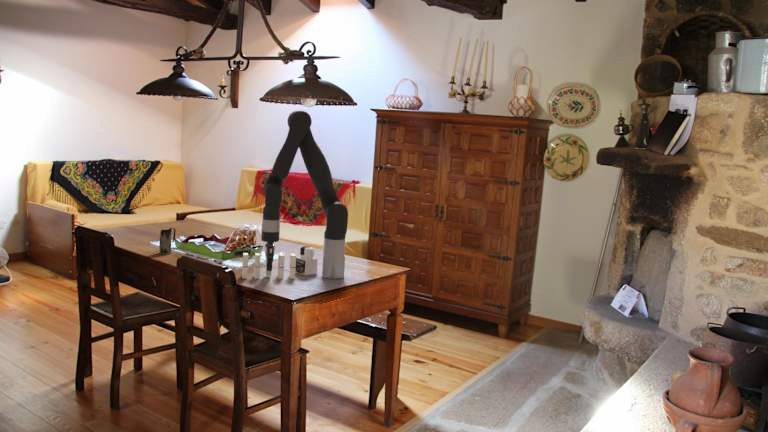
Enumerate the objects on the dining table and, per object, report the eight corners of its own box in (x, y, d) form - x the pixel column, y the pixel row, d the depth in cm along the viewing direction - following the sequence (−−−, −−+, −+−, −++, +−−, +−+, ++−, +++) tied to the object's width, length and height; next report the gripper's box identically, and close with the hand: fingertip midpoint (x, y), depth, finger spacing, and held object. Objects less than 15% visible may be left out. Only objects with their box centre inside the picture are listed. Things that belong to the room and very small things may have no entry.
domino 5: (293, 276, 280) (294, 253, 279) (295, 278, 275) (296, 256, 274) (289, 276, 279) (290, 253, 278) (290, 278, 275) (291, 255, 273)
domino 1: (247, 275, 275) (248, 252, 274) (247, 278, 270) (248, 255, 269) (242, 275, 274) (243, 252, 273) (242, 278, 270) (243, 255, 268)
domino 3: (270, 273, 277) (271, 250, 276) (271, 276, 272) (272, 252, 271) (265, 273, 277) (266, 250, 275) (266, 275, 272) (267, 252, 271)
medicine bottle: (294, 272, 287) (296, 246, 285) (307, 270, 292) (308, 245, 290) (304, 275, 282) (305, 249, 280) (317, 274, 287) (318, 247, 285)
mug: (164, 254, 305) (164, 229, 303) (156, 253, 308) (157, 228, 306) (177, 252, 312) (178, 228, 310) (170, 251, 314) (171, 226, 313)
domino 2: (258, 275, 276) (259, 253, 275) (259, 278, 271) (260, 255, 270) (254, 275, 276) (255, 252, 274) (254, 278, 271) (255, 255, 270)
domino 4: (282, 276, 279) (283, 253, 277) (283, 278, 274) (284, 255, 273) (277, 275, 278) (278, 253, 277) (278, 278, 273) (279, 255, 272)
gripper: (281, 233, 266) (279, 273, 268) (278, 227, 280) (276, 265, 282) (262, 232, 264) (260, 272, 266) (260, 226, 278) (258, 265, 280)
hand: (268, 268), depth 274 cm, fingers closed on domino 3, 5 cm apart
